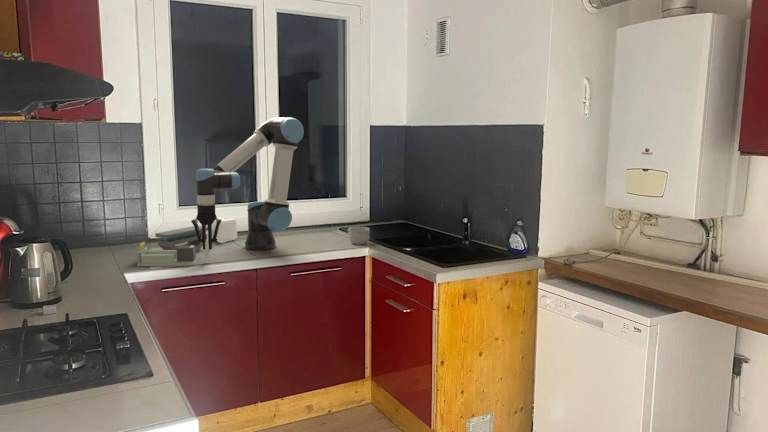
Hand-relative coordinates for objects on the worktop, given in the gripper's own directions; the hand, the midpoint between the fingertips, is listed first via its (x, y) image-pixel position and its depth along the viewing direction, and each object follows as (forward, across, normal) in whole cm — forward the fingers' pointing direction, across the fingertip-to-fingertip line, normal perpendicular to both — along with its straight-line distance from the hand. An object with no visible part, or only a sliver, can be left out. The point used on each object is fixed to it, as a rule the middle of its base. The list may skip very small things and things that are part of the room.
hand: (207, 256), depth 266 cm
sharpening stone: (+3, +14, -20) cm, 25 cm away
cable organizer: (+3, +1, -47) cm, 47 cm away
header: (+3, +16, 0) cm, 17 cm away
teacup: (+3, -70, -38) cm, 80 cm away
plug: (+2, +9, 0) cm, 9 cm away
